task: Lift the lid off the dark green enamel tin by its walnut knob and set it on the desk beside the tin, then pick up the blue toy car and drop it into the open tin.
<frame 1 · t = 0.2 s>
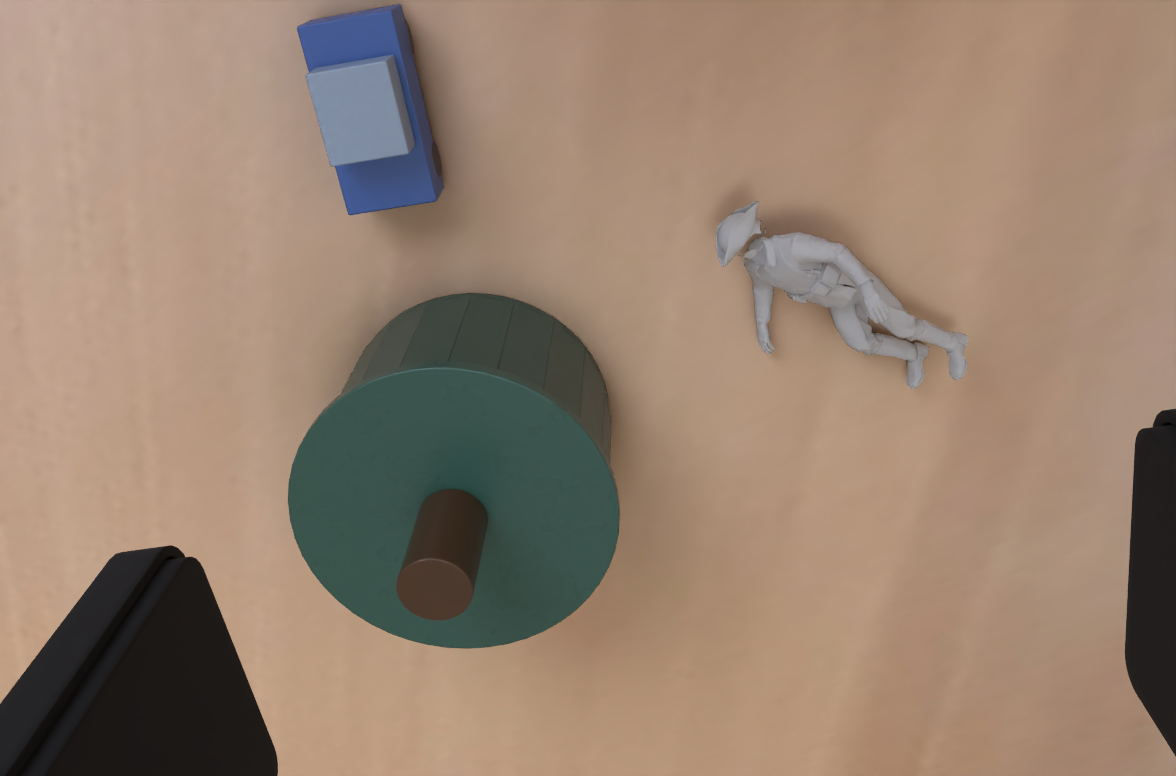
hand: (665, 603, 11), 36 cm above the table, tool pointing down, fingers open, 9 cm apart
soldier figure: (831, 282, 48), on the table
toy car: (382, 104, 45), on the table
tin: (480, 413, 51), on the table
lid: (455, 509, 43), point 8 cm above the table, touching tin
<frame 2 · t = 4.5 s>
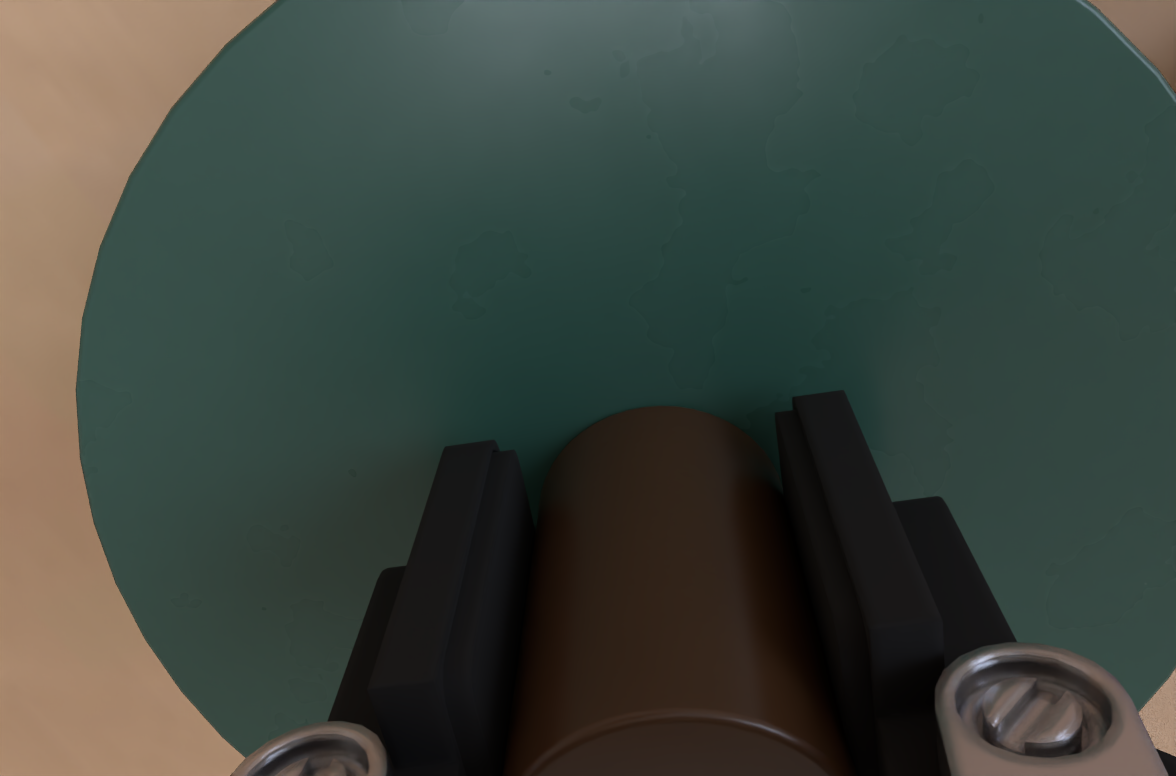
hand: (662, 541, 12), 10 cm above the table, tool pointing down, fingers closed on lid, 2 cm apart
lid: (659, 485, 13), point 9 cm above the table, touching gripper, tin
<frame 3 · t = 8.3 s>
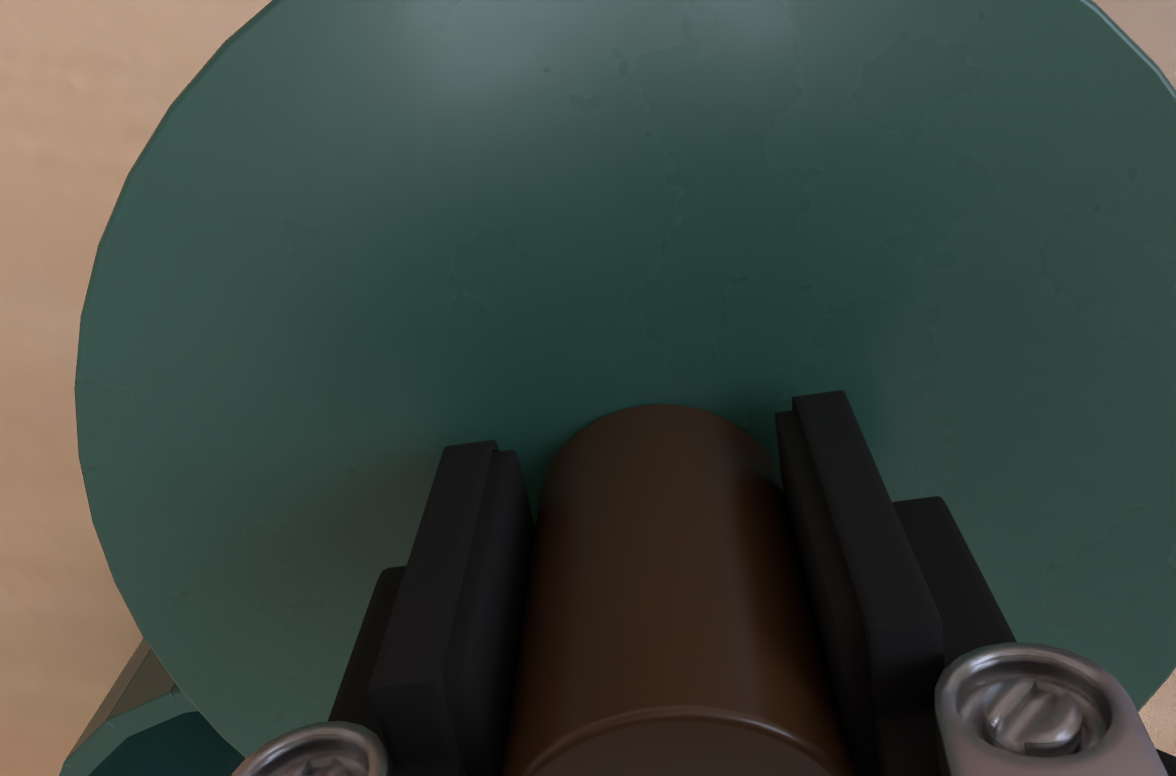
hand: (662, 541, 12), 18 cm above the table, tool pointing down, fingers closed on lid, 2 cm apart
tin: (359, 657, 36), on the table
lid: (659, 483, 13), point 17 cm above the table, touching gripper
when the fingers open (2 cm above the table, at t = 12.0 s): lid stays where it is, point 1 cm above the table.
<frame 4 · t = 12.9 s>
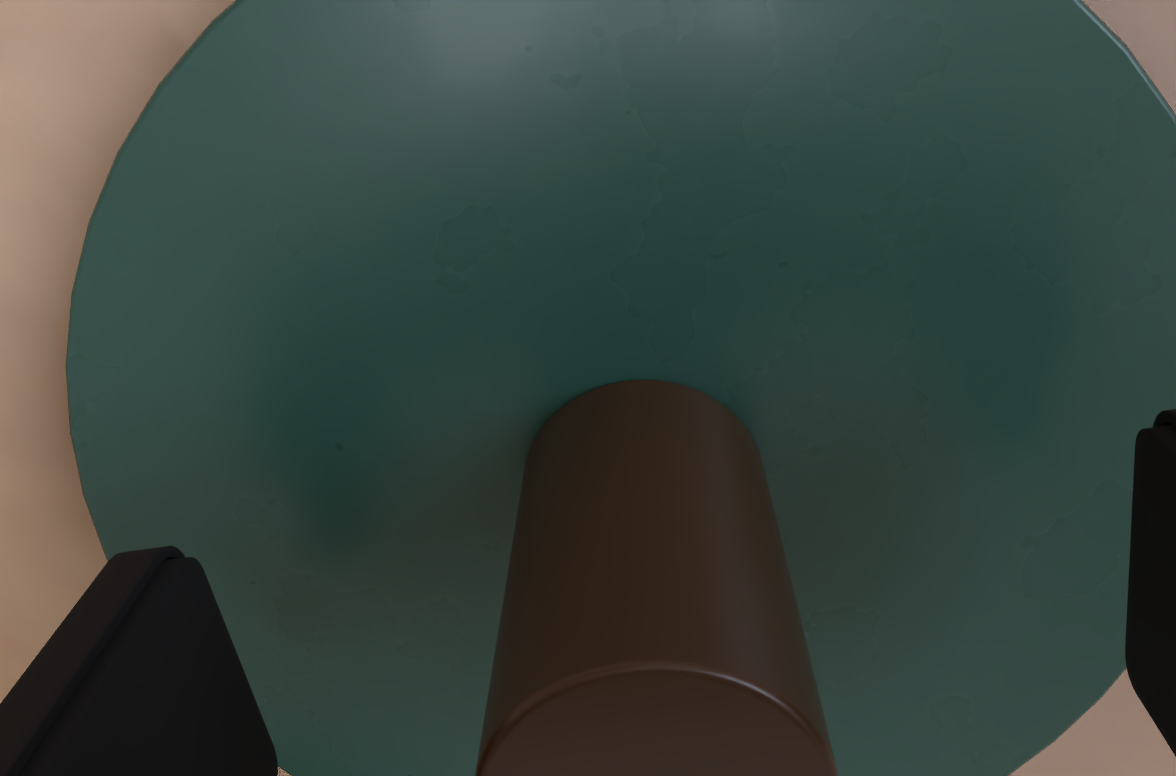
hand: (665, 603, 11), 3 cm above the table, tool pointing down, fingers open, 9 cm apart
lid: (642, 459, 13), point 1 cm above the table
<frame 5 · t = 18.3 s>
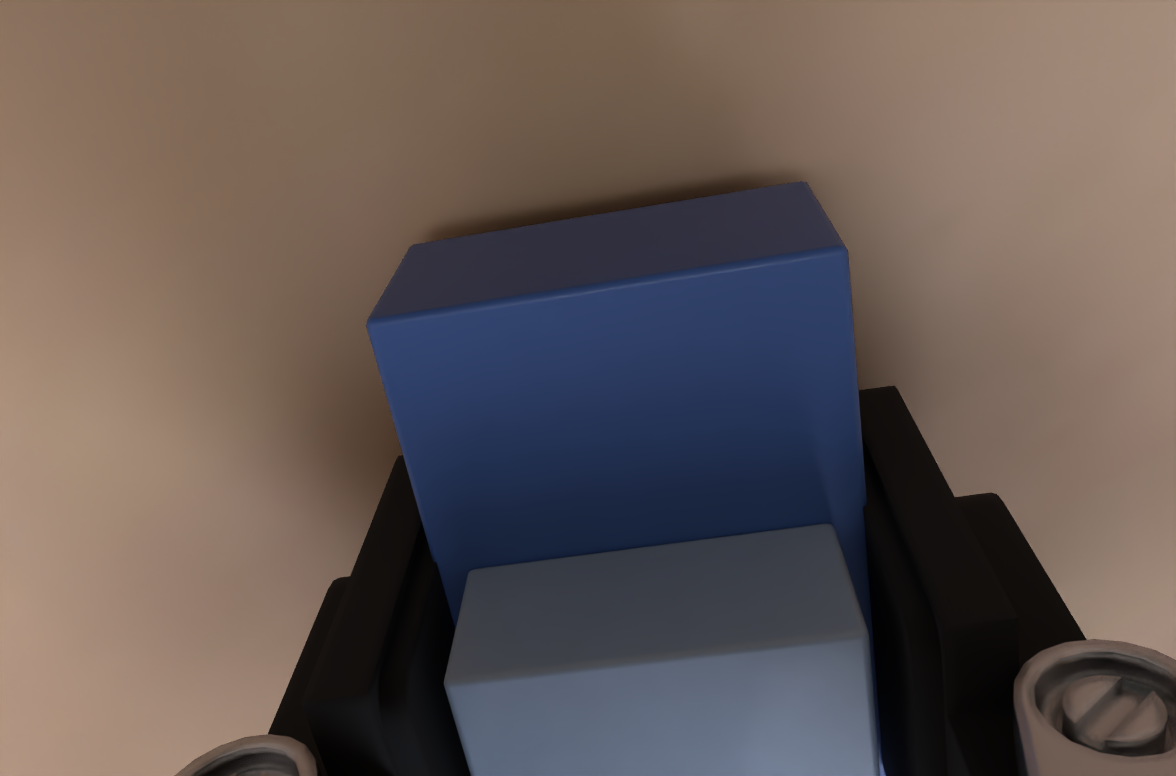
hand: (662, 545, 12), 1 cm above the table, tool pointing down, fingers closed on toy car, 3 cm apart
toy car: (660, 516, 12), on the table, touching gripper
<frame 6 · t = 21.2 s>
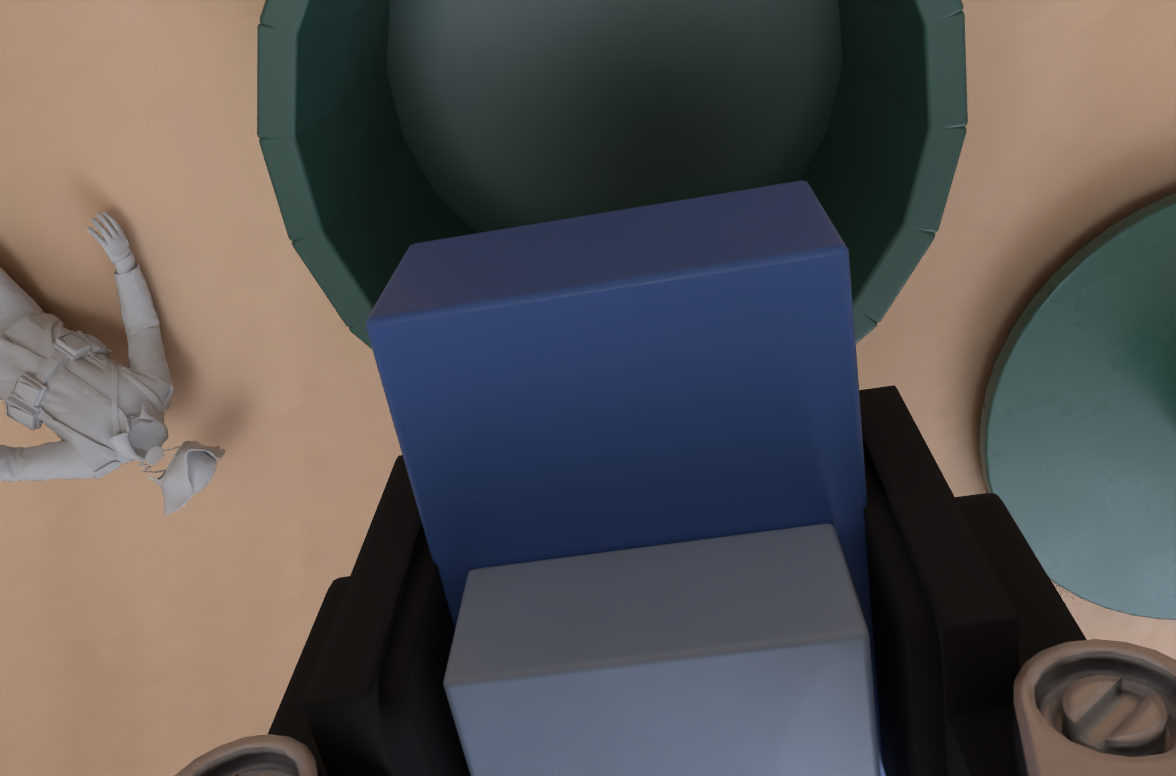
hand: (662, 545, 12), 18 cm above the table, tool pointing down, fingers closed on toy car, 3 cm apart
soldier figure: (42, 314, 30), on the table
toy car: (660, 516, 12), point 17 cm above the table, touching gripper
tin: (612, 62, 26), on the table
when the fingers open (7 cm above the table, at t = 24.4 s): toy car drops 6 cm, resting on tin.
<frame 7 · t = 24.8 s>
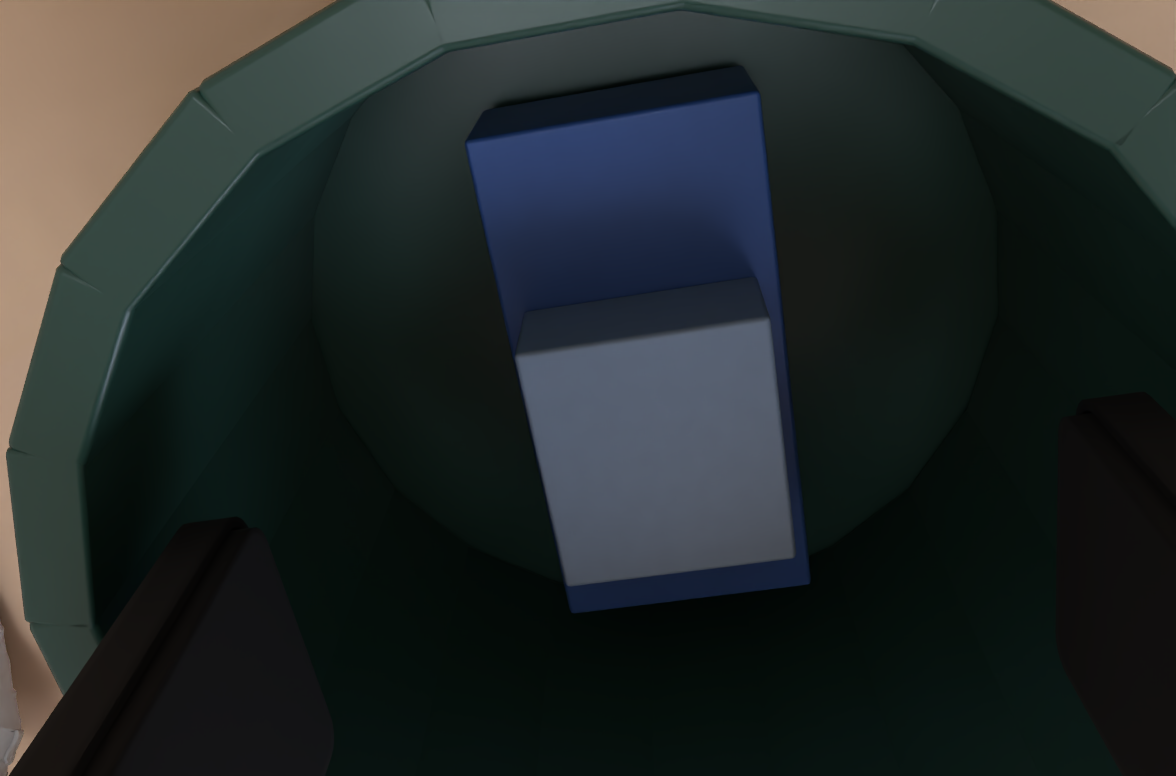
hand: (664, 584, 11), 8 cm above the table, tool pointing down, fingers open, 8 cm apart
toy car: (650, 315, 17), resting on tin
tin: (650, 303, 18), on the table
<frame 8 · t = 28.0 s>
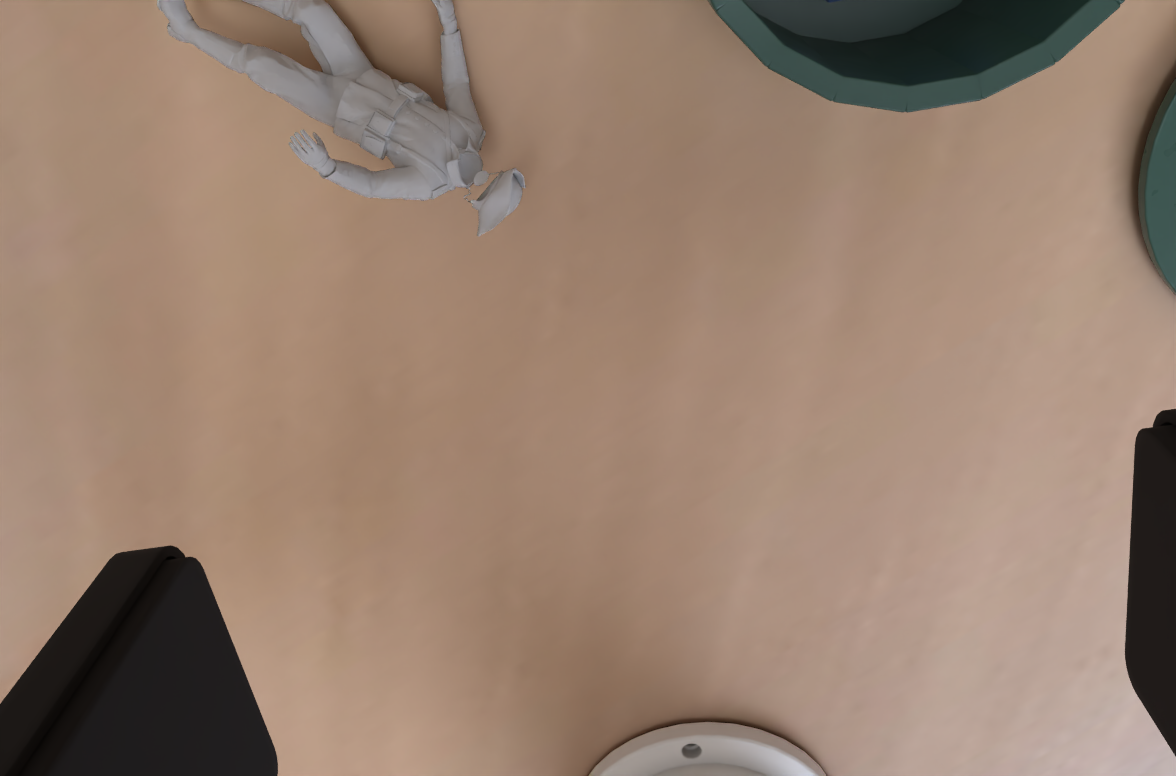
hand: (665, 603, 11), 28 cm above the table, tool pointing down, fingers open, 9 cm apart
soldier figure: (368, 78, 36), on the table
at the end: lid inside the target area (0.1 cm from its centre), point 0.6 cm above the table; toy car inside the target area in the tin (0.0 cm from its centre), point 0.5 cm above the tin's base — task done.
